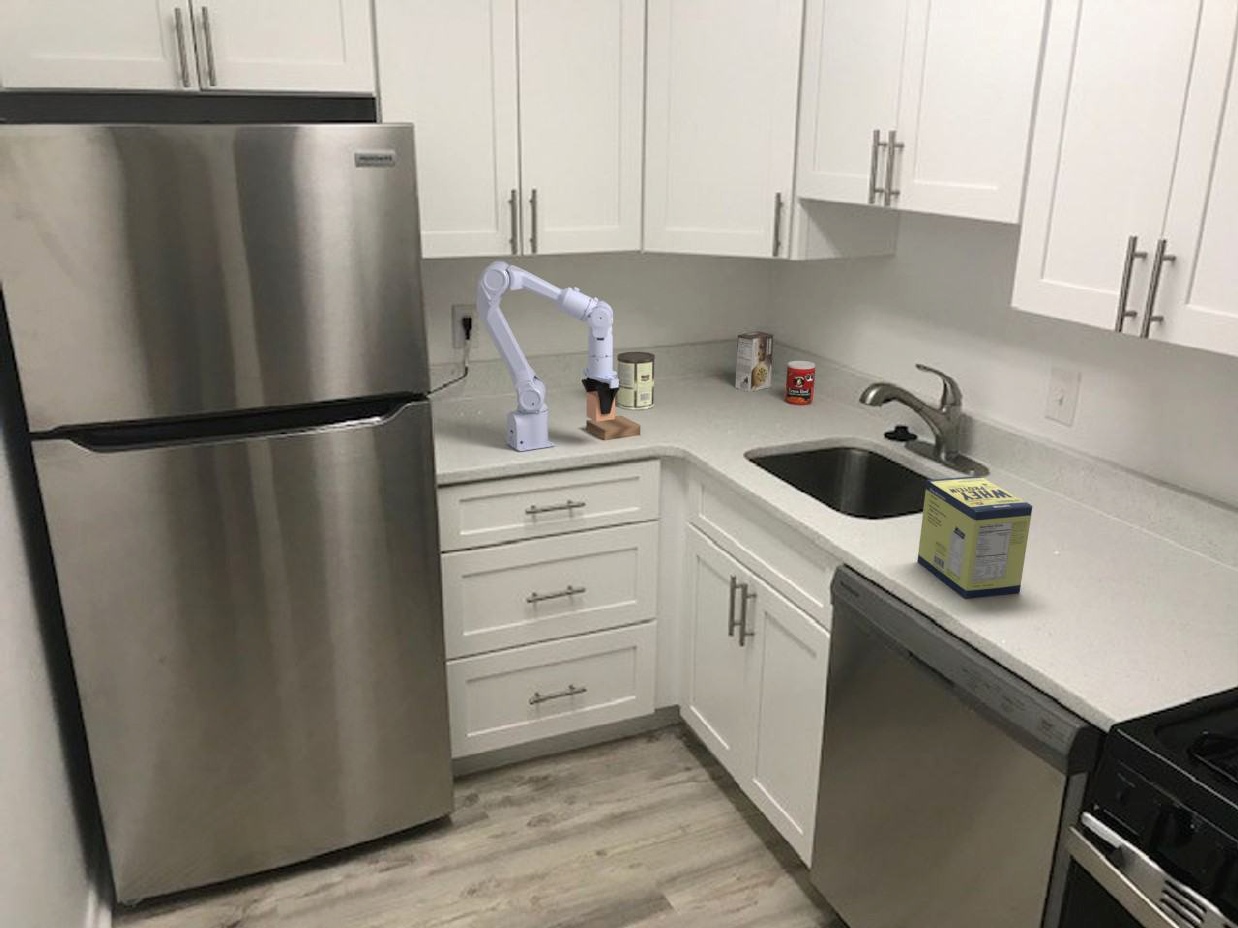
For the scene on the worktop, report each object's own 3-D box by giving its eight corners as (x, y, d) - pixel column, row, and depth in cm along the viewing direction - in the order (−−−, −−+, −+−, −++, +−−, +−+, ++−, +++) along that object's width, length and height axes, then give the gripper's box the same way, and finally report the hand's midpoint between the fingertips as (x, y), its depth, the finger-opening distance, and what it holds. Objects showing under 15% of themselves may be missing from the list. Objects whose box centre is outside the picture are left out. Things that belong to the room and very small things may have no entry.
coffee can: (629, 398, 275) (630, 349, 271) (660, 404, 270) (662, 354, 266) (609, 406, 267) (609, 356, 263) (641, 412, 262) (642, 361, 257)
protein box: (967, 555, 174) (978, 474, 169) (1021, 593, 160) (1035, 505, 155) (915, 561, 172) (924, 478, 167) (965, 600, 157) (977, 511, 152)
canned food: (783, 404, 271) (785, 365, 268) (787, 397, 278) (789, 359, 275) (811, 406, 269) (813, 367, 265) (814, 399, 276) (817, 361, 273)
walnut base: (605, 442, 238) (605, 430, 237) (586, 431, 246) (586, 420, 245) (640, 436, 242) (640, 425, 241) (620, 426, 250) (620, 415, 249)
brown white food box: (755, 383, 294) (758, 330, 288) (771, 387, 289) (774, 334, 284) (734, 388, 288) (737, 334, 283) (750, 392, 283) (753, 337, 278)
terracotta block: (596, 421, 228) (596, 397, 226) (586, 416, 232) (586, 392, 230) (614, 419, 230) (615, 394, 229) (605, 413, 235) (605, 389, 233)
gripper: (630, 359, 222) (629, 416, 227) (601, 347, 234) (601, 401, 239) (603, 362, 219) (603, 420, 223) (575, 350, 231) (575, 405, 235)
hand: (600, 410), depth 231 cm, fingers closed on terracotta block, 5 cm apart
